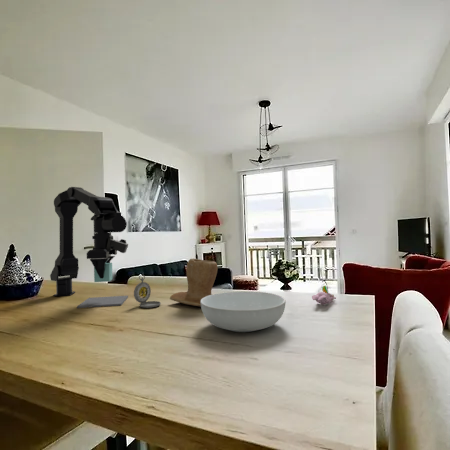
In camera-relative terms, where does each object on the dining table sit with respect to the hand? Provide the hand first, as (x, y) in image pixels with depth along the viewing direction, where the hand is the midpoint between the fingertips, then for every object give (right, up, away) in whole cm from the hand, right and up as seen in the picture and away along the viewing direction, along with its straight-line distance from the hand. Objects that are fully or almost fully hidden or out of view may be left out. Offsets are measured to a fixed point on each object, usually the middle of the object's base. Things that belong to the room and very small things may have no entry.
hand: (103, 277), depth 114 cm
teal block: (0, -1, 0) cm, 1 cm away
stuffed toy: (+73, -7, -13) cm, 75 cm away
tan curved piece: (+34, -8, -8) cm, 35 cm away
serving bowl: (+47, -7, -34) cm, 59 cm away
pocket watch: (+18, -8, -8) cm, 21 cm away
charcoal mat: (0, -9, 0) cm, 9 cm away
